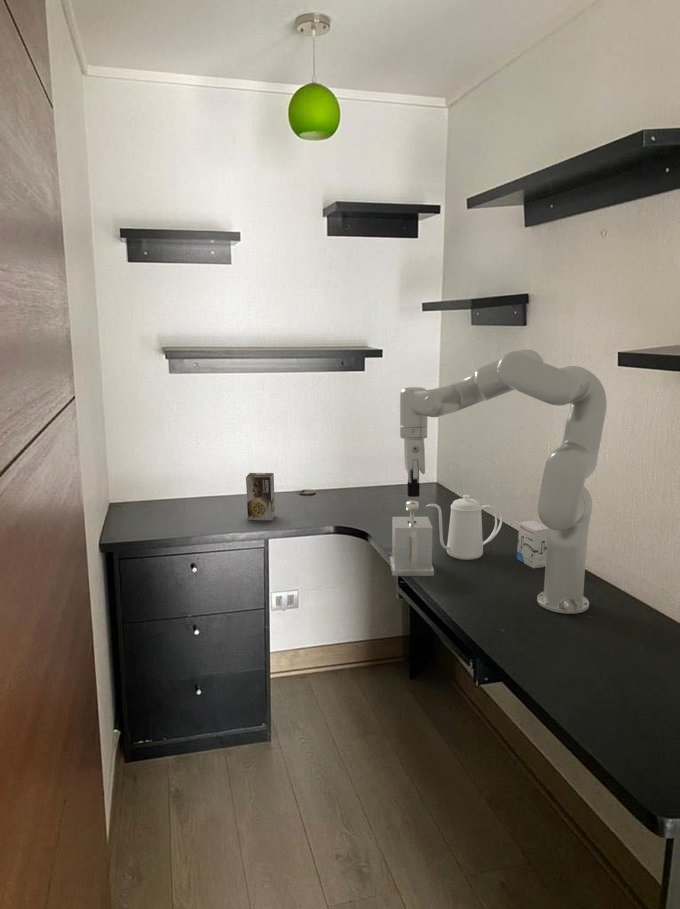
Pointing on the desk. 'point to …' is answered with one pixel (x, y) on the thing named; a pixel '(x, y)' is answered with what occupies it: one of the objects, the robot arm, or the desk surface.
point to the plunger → (412, 508)
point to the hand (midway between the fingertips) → (413, 495)
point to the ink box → (532, 544)
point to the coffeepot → (466, 528)
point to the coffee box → (260, 496)
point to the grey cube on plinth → (411, 547)
